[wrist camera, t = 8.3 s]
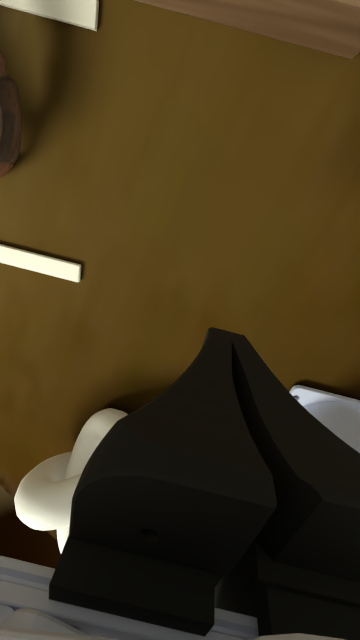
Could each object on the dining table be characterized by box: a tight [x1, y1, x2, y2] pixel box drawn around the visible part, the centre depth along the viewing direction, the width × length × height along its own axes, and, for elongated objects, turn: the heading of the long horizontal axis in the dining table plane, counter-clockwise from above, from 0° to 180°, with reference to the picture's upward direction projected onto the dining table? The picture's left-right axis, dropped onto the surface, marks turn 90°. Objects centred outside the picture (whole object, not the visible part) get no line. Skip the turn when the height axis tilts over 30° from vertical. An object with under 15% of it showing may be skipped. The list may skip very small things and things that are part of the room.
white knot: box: [14, 408, 128, 553], centre depth 25 cm, size 11×12×9 cm
